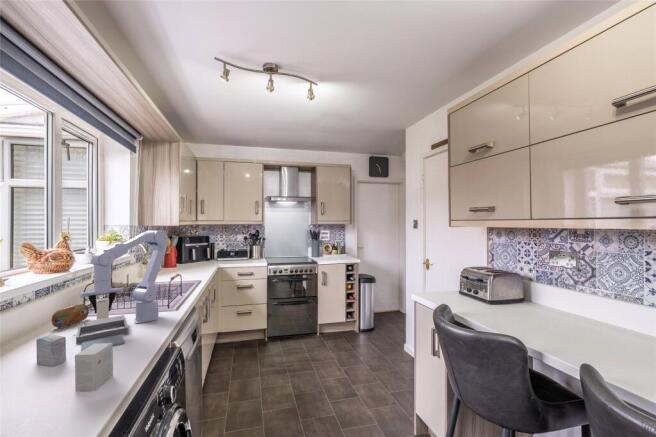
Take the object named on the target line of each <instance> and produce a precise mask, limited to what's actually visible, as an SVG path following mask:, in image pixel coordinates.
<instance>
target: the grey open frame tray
mask: <svg viewBox="0 0 656 437" xmlns="http://www.w3.org/2000/svg"><path fill="white" fill-rule="evenodd" d="M121 326H123V327H121ZM116 327H121V328H116ZM111 328H116V329H111ZM104 329H105V331H104ZM106 329H110V330H106ZM100 330H103V331H100ZM94 331H99V332H94ZM128 331H129V327H128V324H127V320H126V318H125V315H124V314H121V315H116V316H109V318H104V319H98V320H97V319H94V320H89V321H86V319H85V320H82V322H79V326H78V328H77V332H76V336H75V337H76V338H75V341H76V343H75V344H76V345H79V344H82V342H84V341H89V340H94V339H99V338H104V337H109V336H114V335H119V334H123V335H126V334H128V333H129V332H128ZM91 332H94V333H91ZM85 333H90V334H85ZM81 334H85V335H81Z"/></svg>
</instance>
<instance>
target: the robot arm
mask: <svg viewBox="0 0 656 437" xmlns="http://www.w3.org/2000/svg"><path fill="white" fill-rule="evenodd" d="M168 238H169V236H168V234H167V233H166V232H165V230H162V229H161V230H155V229H154V230H152V229H151V230H149V229H148V230H146V231H144V232H141V233H140V234H138V235H137V236H135V237H133V238H131V239H129V240H128V241H126V242H124V243H123V242H115V243H113V245H111V246H110V247H108V248H104V249H103V250H102V251H98V252H96V253H94V254H93V255H92V257H91V259H90V263H91V264H92V265H93V290H88V291H84V292H83V291H82V292H80V299H83V298H88V300H89V302H90V303H91V305H92V307H93V311H94V314H97V296H105V295H108V299H109V312H110V311H111V310H112V306H113V302H114V300H115V298H116V296H117V294H119V293H124V287H112V283H111V282H112V279H111V278H112V277H111V276H112V274H111V271H112V267H111V266H112V264H113V263H114V261H116V260H118V258H122V257H123V256H124V255H127V254H128V253H129V250H130V249H132V248H135V247H137V246H139V245H141V244H143V243H146V244H148V245H149V246H151V248H152V249H153V251H152V254H151V256H150V259H149V261H148V264H147V267H146V269H145V273H144V274H143V277H142V280H141V281H140V282H139V283H138V284H137V285H136V286H135V289H133V291H132V293H131V297H132V299H133V300H134V302H135V318H133V320H134V324H141V323H147V322H151V321H152V322H153V321H157V320H159V302H158V300H157V299H156V297H157V289H158V286H157V284H156V280H157V277H158V274H159V272H160V269H161V266H162V264H163V261H164V259H165V254H166V252H167V248H168V246H167V244H168V243H167V241H168Z"/></svg>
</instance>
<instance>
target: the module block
mask: <svg viewBox="0 0 656 437" xmlns="http://www.w3.org/2000/svg"><path fill="white" fill-rule="evenodd" d="M96 305H97V313H96V320H99V319H104V318H110V316H109V314H110V313H109V312H110V311H109V297H108V298H107V297H104V298H98V299H96Z"/></svg>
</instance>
